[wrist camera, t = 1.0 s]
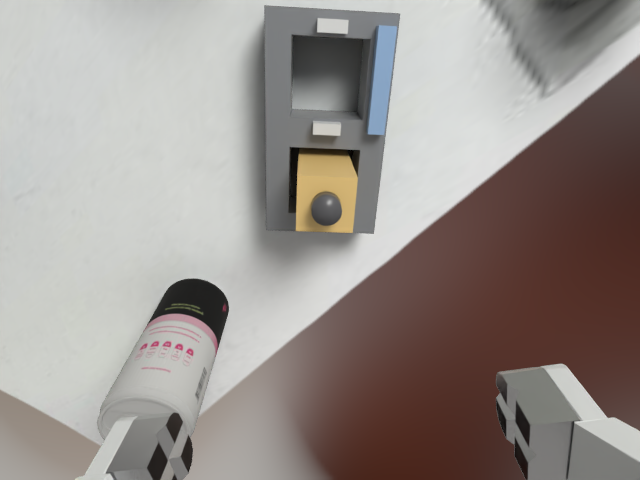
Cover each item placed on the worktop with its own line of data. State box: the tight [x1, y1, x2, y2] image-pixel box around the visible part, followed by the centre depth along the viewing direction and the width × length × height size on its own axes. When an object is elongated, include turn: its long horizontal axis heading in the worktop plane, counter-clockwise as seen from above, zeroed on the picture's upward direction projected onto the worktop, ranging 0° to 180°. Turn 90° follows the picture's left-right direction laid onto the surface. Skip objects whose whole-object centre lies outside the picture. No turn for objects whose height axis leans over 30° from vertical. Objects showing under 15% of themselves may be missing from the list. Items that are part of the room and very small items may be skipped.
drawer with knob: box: [296, 147, 358, 233], centre depth 31 cm, size 4×4×10 cm
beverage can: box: [97, 279, 229, 440], centre depth 34 cm, size 6×6×15 cm
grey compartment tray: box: [264, 5, 400, 234], centre depth 31 cm, size 9×16×5 cm, turn 177°
